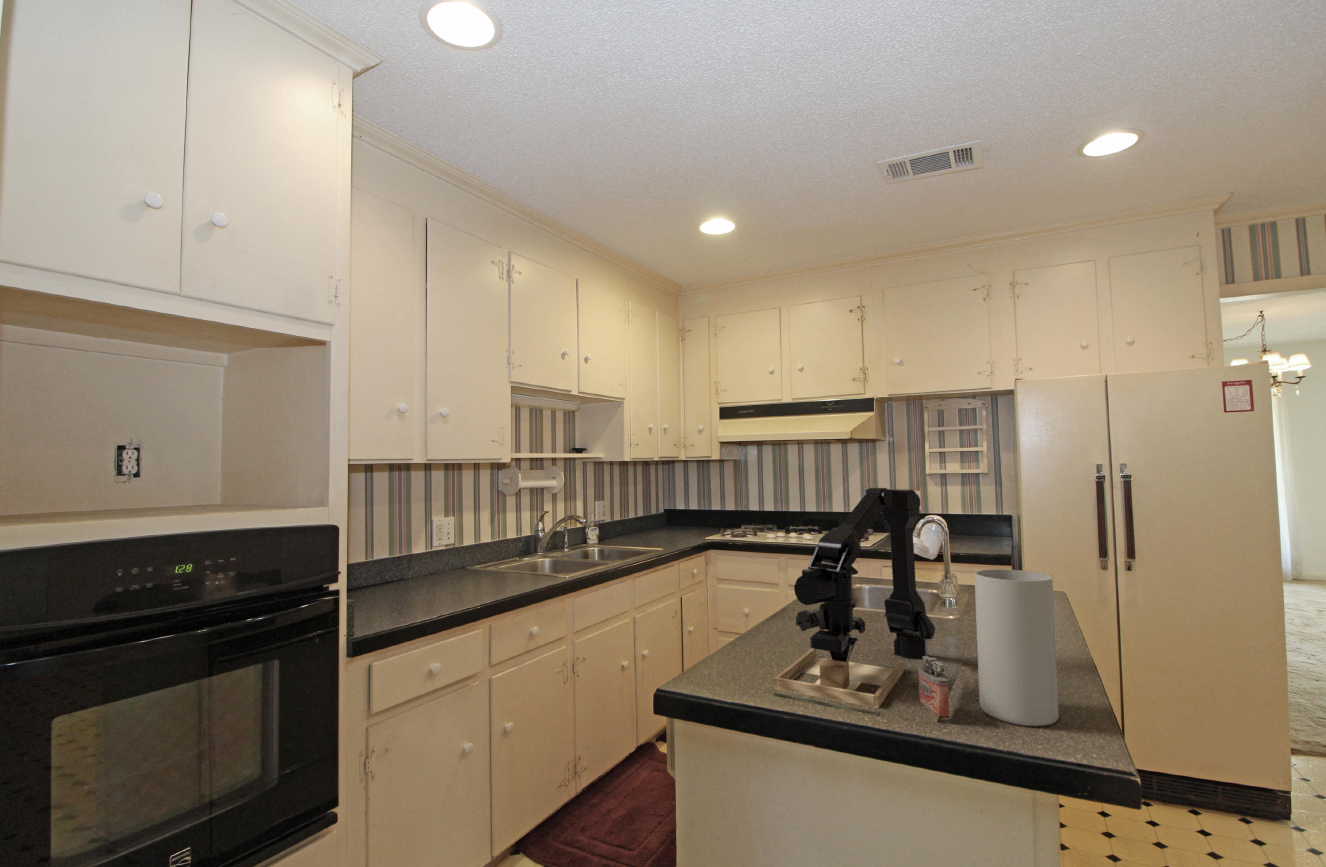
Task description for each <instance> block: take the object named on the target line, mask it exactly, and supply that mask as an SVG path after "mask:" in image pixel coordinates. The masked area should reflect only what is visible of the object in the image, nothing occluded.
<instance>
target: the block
mask: <svg viewBox="0 0 1326 867" xmlns="http://www.w3.org/2000/svg"><path fill="white" fill-rule="evenodd" d="M831 659H832V658H827V659H826V660H825V661H824V662H822V663H821V664H820V676H819V679H820V685H823V686H829V687H835V688H840V689H846V688H847V687H848V686H849V662H850V661H848V662H844V661H838V660H831Z"/></svg>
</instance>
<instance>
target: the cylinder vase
mask: <svg viewBox="0 0 1326 867" xmlns="http://www.w3.org/2000/svg"><path fill="white" fill-rule="evenodd" d="M1053 580H1054V579H1053V576H1051V575H1049V574H1046V573H1041V572H1036V571H1028V570H1019V569H1005V568H1004V569H1003V568H1001V569H997V568H996V569H994V568H990V569H980V570H976V571H974V592H975V593H974V595H975V597H974V598H975V617H976V618H975V620H976V621H975V623H976V646H977V670H978V671H977V672H978V674H977V675H978V697H979V699H978V700H979V707H980V708H981V710H982V711H983V712H984V713H985V714H986V715H988V716H990V717H992V718H994V719H996V720H999V721H1001V722H1005V723H1009V724H1014V725H1018V726H1025V727H1045V726H1049V725H1053V724H1054V723H1057V721H1058V720H1059V717H1060V716H1059V715H1060V714H1059V713H1060V712H1059V695H1058V694H1059V691H1058V672H1057V652H1056V647H1057V646H1056V630H1055V625H1056V624H1055V605H1054V585H1053V583H1054V582H1053Z"/></svg>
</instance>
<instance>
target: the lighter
mask: <svg viewBox="0 0 1326 867" xmlns="http://www.w3.org/2000/svg"><path fill="white" fill-rule="evenodd" d="M922 664H923V665H919V666H917V672H918V687H919V689H918V691H919V701H920V703H921V704H923V706H925V708H927V709H929V710H930V711H932V712H934V713H935V714H938V718H937V721H936V723H938V722H939V723H938V724H942V723H943V724H944V723H945V725H947V723H948V724H951V722H952V720H951V715H950V703H949V702H950V701H949V684H950V678H949V677H948V675H946V674H944V673H945V665H944V664H943V663H941V662H939V661H938V659H937V658H936V657H931V656H929V655H928V656H923V659H922Z"/></svg>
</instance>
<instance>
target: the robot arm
mask: <svg viewBox="0 0 1326 867" xmlns="http://www.w3.org/2000/svg"><path fill="white" fill-rule="evenodd" d="M920 507H921V498H920V496H919V494H917V492H916V491H915V490H913V489H900V488H899V489H897V488H896V489H893V488H886V487H869V488H867V489H866V490H865V491H864V494H863V497H862V498H861V499H860V501H859V502H858V503H857V504H856V505H855V507H854V508H853V510H851V512H850V513H849V514H848V516H847V517H846V518H845V519H844V521H842V523H841V524H840V525H839V526H837V527H836V528H835V527H834V528H833V529H831V530H828V531H827V532H826V533H825V534H824V535H823V536H822V537H821V538H820V539H819V541H818V542H817V545H816V548H815V550H814V553H813V554H812V557H811V559H810V562H809V564H808V566H807V568H804V569H803V568H802V570H801V575H800V576H799V577H798V578H797V579H796V581H795V584H794V585H793V586H794V588H793V589H794V591H793V592H794V594H795V597H796V598H797V600H798V601H799V602H800V603H801V604H803V605H805V606H811V605H816V604H819V608H815V609H812V610H808V609H805V610H802V611H801V610H799V611H798V612H797V615H796V616H795V620H796V621H795V626H797V627H799V628H800V631H801V632H805V631H807V630H810V629H814V628H817V627H818V628H819V629H818V631H816V632H815V633H814V634H813V635H812V636H811V637H810V638H809V640H810V641H809V642H810V644H809V646H810V649H816V650H820V651H826V652H829V654H830V657H831V659H832V660H838V661H844V662H850V659H851V656H852V653H853V651H854V649H855V646H856V644H857V642H858V640H859V639H858V637H852V635H851V632H852V631H853V630H854V631H855V630H856V631H858V633H859V634H860V635H861V634H863V633H864V632H866V622H865V620H864V619H863V618H862V617H859V616H854V609H855V608H856V601H853V576H854V575H858V574H859V571H858V570H857V569H856V568H855V567H854V566H853V564H854V563H855V562H856V560H857V558H858V556H859V554H860V552H861V551H862V548H861V541H862V539H863V538H864V537H865V535H866V533H867V532H868V531H869V529H870V528H871V527H872V525H873V524H874V523H875V521H876V520H877V519H878V517H879V516H880V515H881V516H882V517H881V518H883V520H884V522H885V523H886V525H887V527H888V529H889V535H890V536H889V537H890V539H889V541H890V554H891V558H890V559H891V574H892V576H891V577H892V592H891V594H890V595H889V597H888V598H885V600H884V617H885V618H886V622H887V625H888V631H889V633H892V634H896V636H895V637H896V638H894V640H893V652H894V653H893V654H894V655H895V656H898V657H901V658H903V659H909V660H923V656H928V657H929V653H928V652H929V651H928V648H929V647H928V640H932V639H933V638H934V637H935V630H936V627H935V625H934V623H933V622H932V621H931V620H930V618H929V616H928V615H927V613H926V612H927V611H926V607H925V602H924V600H923V599H922V596H920V594H919V593H918V591H917V582H916V566H915V565H916V563H915V562H916V561H915V547H914V531H913V528H914V526H915V525H916V523H917V520H918V519H919V518H920V509H921V508H920Z"/></svg>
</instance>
